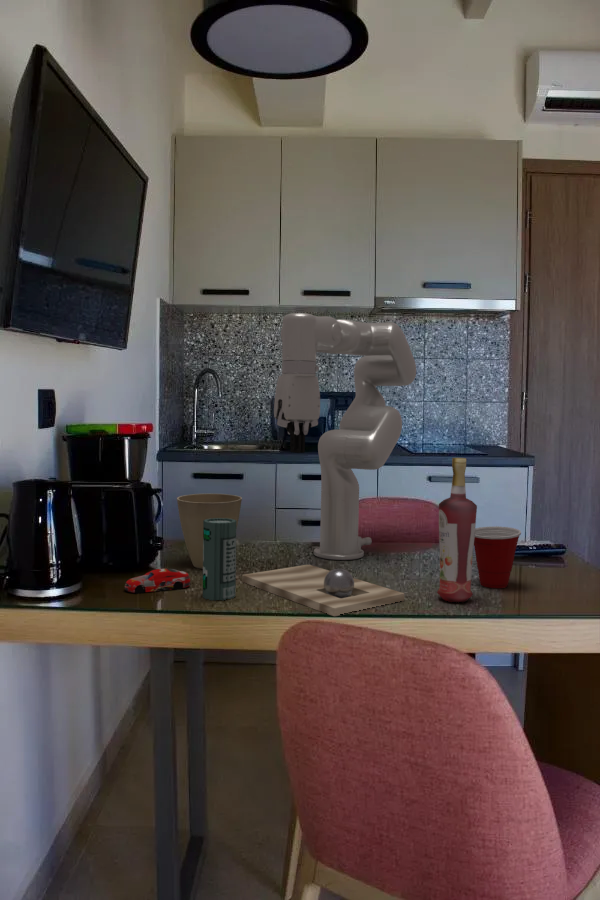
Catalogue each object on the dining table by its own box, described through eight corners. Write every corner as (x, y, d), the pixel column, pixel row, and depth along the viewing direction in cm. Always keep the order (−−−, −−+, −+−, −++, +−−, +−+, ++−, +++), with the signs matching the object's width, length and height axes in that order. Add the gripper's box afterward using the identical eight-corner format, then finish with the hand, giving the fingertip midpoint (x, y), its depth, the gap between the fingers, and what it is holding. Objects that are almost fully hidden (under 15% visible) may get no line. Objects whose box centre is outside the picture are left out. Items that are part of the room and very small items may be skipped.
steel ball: (356, 602, 139) (344, 600, 145) (361, 571, 140) (349, 569, 146) (327, 598, 137) (317, 595, 143) (332, 567, 138) (321, 565, 144)
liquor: (480, 604, 140) (485, 459, 138) (444, 605, 138) (449, 459, 137) (463, 594, 147) (468, 456, 145) (430, 595, 146) (434, 456, 144)
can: (216, 590, 146) (216, 517, 145) (240, 595, 143) (241, 520, 142) (197, 597, 141) (197, 521, 140) (222, 602, 138) (223, 524, 137)
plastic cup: (456, 581, 158) (458, 526, 157) (497, 577, 162) (499, 524, 161) (487, 593, 148) (489, 535, 147) (530, 589, 152) (532, 532, 151)
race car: (127, 596, 142) (127, 576, 142) (122, 590, 147) (122, 570, 147) (193, 590, 147) (193, 570, 147) (185, 583, 152) (185, 564, 152)
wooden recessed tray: (242, 581, 154) (242, 574, 154) (308, 570, 165) (308, 564, 165) (334, 616, 130) (334, 608, 130) (404, 601, 141) (404, 593, 141)
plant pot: (172, 560, 173) (172, 494, 172) (233, 557, 178) (233, 492, 177) (181, 574, 159) (182, 502, 158) (247, 571, 164) (248, 501, 162)
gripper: (314, 371, 168) (312, 450, 169) (261, 369, 159) (260, 452, 160) (335, 371, 162) (333, 452, 164) (281, 368, 153) (280, 454, 154)
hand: (297, 452), depth 162 cm, fingers closed
